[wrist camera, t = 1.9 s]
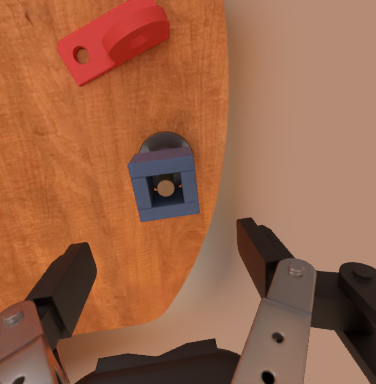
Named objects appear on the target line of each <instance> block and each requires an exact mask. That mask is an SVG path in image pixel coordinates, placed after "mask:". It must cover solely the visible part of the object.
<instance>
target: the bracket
mask: <svg viewBox="0 0 376 384" xmlns="http://www.w3.org/2000/svg"><path fill="white" fill-rule="evenodd" d="M167 38H169V22H168V20H167V17H166V15H165V13H164V10H163V9H162V8H161V7H159V6H156V4H155V2H154V0H128V1H126V2H125V3H123V4H121V5H119V6H118V7H116V8H114V9H113V10H111V11H109V12H107V13H106V14H104V15H102V16H101V17H99V18H97V19H95V20H94V21H92V22H90V23H89V24H87V25H85V26H83V27H82V28H80V29H78V30H77V31H75V32H73V33H71V34H70V35H68V36H66V37H65V38H63V39H61V40H60V41H59V43H58V46H57V49H58V53H59V55H60V56H61V58H62V60H63V61H64V63H65V65H66V66H67V68H68V69H69V71H70V73H71V74H72V76H73V78H74V79H75V81H76V82H77V84H78V85H79V86H83V85H85V84H87V83H88V82H90V81H92V80H94V79H96V78H97V77H99V76H101V75H103V74H104V73H106V72H108V71H110V70H112V69H113V68H115V67H117V66H119V65H121V64H122V63H124V62H126V61H128V60H130V59H131V58H133V57H135V56H137V55H139V54H140V53H142V52H144V51H146V50H148V49H149V48H151V47H153V46H155V45H157V44H158V43H160V42H162V41H164V40H165V39H167ZM81 48H85V49H87V51H88V52H89V61H88V62H87V63H86V64H80V63H79V62H78V60H77V56H76V55H77V52H78V50H79V49H81Z"/></svg>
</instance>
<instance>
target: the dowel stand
mask: <svg viewBox="0 0 376 384" xmlns="http://www.w3.org/2000/svg"><path fill="white" fill-rule="evenodd" d="M181 147H189V149H190V150H191V152H192V149H191V147H190V145H189V144H188V142H187V141H186V140H185V139H184V138H183V137H181V136H180V135H178V134H176V133H173V132H158V133H155V134H153V135H151V136H150V137H149V138H148V139H146V141H145V142H144V143H143V145H142V146H141V148H140V151H139V153H145V152H152V151H159V150H166V149H174V148H181ZM192 154H193V152H192ZM152 179H153V185H154V188H155V189H157V191H158V193H159V194H160V195H162V196H170V195H171V194H173V192H174V190H175V188H178V187H179V186H180V185H181V178H180V172H175V173H168V174H161V175H154V176H152Z"/></svg>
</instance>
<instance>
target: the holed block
mask: <svg viewBox="0 0 376 384" xmlns="http://www.w3.org/2000/svg"><path fill="white" fill-rule="evenodd" d="M128 168H129V173H130V177H131V182H132V186H133V190H134V195H135V199H136V203H137V208H138V212H139V216H140V220H141V222H145V221H152V220H159V219H165V218H172V217H179V216H185V215H192V214H199V213H200V210H199V201H198V192H197V183H196V174H195V165H194V157H193V154H192V152H191V150H190V149H189V147H181V148H174V149H166V150H159V151H152V152H145V153H137V154H135V155H134V156H133V158H132V159H131V161H130V162H129V164H128ZM175 172H180V178H181V186H182V187H178V188H175V190H174V192H173V194H171V195H170V196H162V195H160V194H159V193H158V191H154V185H153V179H152V176H154V175H161V174H168V173H175Z"/></svg>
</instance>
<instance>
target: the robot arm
mask: <svg viewBox="0 0 376 384" xmlns="http://www.w3.org/2000/svg"><path fill="white" fill-rule="evenodd" d="M237 245H238V250H239V254H240V256H241V258H242V260H243V262H244V264H245V266H246V268H247V270H248V272H249V274H250V276H251V278H252V280H253V282H254V284H255V287H256V288H257V290H258V293H259V295H260V297H261V302H260V305H259V308H258V310H257V313H256V316H255V319H254V321H253V324H252V327H251V329H250V332H249V335H248V338H247V340H246V343H245V346H244V349H243V351H242V354H241V355H239V354H237V353H234V352H231V351H229V350H225V349H219V348H217V345H216V340H215V338H214V339H208V340H202V341H197V342H191V343H186V344H184V345H182V346H180V347H177V348H175V349H173V350H171V351H169V352H166V353H164V354H162V355H160V356H146V355H137V354H121V355H116V356H110V357H104V358H99V359H98V363H97V366H96V370H95V371H93V372H91V373H90V374H88V375H86V376H84V377H83V378H82V379H80V380H79V381H77V382H76V383H75V384H303V383H304V375H305V366H306V359H307V350H308V342H309V334H310V333H309V332H310V327H314V328H321V329H328V330H335V332H336V333H337V335H338V336H339V338H340V339H341V341H342V342H343V344H344V345H345V347H346V348H347V350H348V351H349V353H350V354H351V355H352V357H353V358H354V360H355V361H356V363H357V364H358V366H359V367H360V369H361V370H362V372H363V373H364V375H365V376H366V377H367V379H368V381H369V382H370V384H376V269H375V268H373V267H371V266H368V265H365V264H362V263H356V262H348V263H344V264H342V265H341V266H340V269H339V273H336V272H324V271H316V270H315V269H314V267H313V266H312V265H311V264H309V263H307V262H306V261H303V260H300V259H296V258H294V257H293V255H292V254H291V253H290V252H289V251H288V249H287V248H286V247H285V246H284V245H283V243H282V242H280V240H279V239H278V238H277V237H276V235H275V234H274V233H273V232H272V230H271V229H269V228H267V227H265V226H263V225H259V226H257V224H256V223H255V222H254V220H253V219H252V218H251V217H250V218H243V219H238V220H237ZM96 274H97V268H96V264H95V261H94V258H93V255H92V252H91V250H90V247H89V244H88V243H87V242H83V243H77V244H71V245H70V246H69V247H68V249H67V250H66V252H65V253H64V254H63V255H61V256H60V257H58V258H57V259H56V260H55V261H54V262H52V263H51V265H50V266H49V267H48V269H47V270H46V272H45V273H44V274H43V276H42V277H41V279H40V280H39V281H38V282H37V284H36V285H35V286H34V288H33V289H32V291H31V292H30V293H29V295H28V296H27V297H26V299H25V300H24V301H21V302H18V303H16V304H14V305H12V306H10V307H8V308H7V309H5V310H4V311H3V312H1V313H0V384H70V382H69V379H68V376H67V373H66V370H65V367H64V364H63V361H62V359H61V356H60V353H59V350H58V348H57V343H58V341H59V339H64V338H70V337H71V336H72V334H73V331H74V329H75V327H76V324H77V322H78V319H79V317H80V315H81V312H82V310H83V307H84V305H85V303H86V300H87V298H88V295H89V293H90V291H91V288H92V286H93V283H94V281H95V278H96Z"/></svg>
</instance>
